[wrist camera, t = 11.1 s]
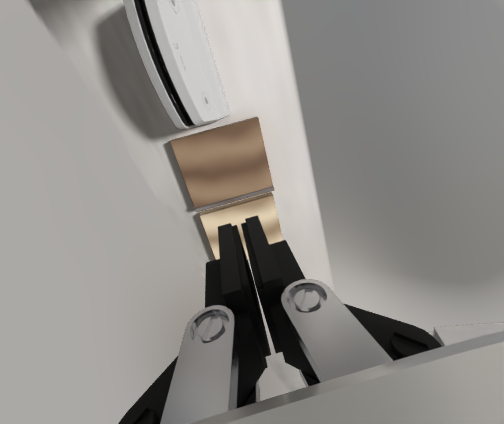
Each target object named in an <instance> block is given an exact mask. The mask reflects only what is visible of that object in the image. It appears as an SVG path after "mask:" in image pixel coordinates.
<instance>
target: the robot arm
mask: <svg viewBox="0 0 504 424" xmlns="http://www.w3.org/2000/svg"><path fill="white" fill-rule="evenodd" d="M245 221H246V222H245V223H241V227H242V231H243V235H244V239H245V243H246V248H247V252H248V256H249V260H250V264H251V269H252V273H253V276H252V273H251V270H250V267H249V263H248V260H247V257H246V253H245V250H244V247H243V243H242V240H241V237H240V233H239V230H238V227H237V225H234V226H232V225H231V223H229V224H225V225H222V226H218V240H219V256H220V259H217V260H213V261H210V262H207V263H206V286H205V287H206V288H205V290H206V291H205V309H203V310H201V311H199V312H198V313H197V314H195V315H194V316H193V317H192V318H191V320H190V321H189V322H188V324H187V327H186V329H185V332H184V336H183V340H182V344H181V347H180V351H179V355H178V356H177V357H176V359H175V360H174V361H173V362H172V363H171V364H170V365H169V366H168V367H167V369H166V370H165V371H164V372H163V373H162V374H161V375H160V376H159V377H158V378H157V380H156V381H155V382H154V383H153V384H152V385H151V386H150V387H149V388H148V390H147V391H146V392H145V393H144V394H143V395H142V396H141V397H140V398H139V399H138V401H137V402H136V403H135V404H134V405H133V406H132V407H131V408H130V409H129V410H128V412H127V413H126V414H125V416H124V417H123V418H122V419H121V421H120V422H119V424H504V322H497V323H484V324H470V325H457V326H444V327H434V332H426V331H425V330H423V329H420V328H418V327H416V326H413V325H410V324H407V323H404V322H401V321H397V320H394V319H391V318H388V317H385V316H381V315H378V314H375V313H372V312H368V311H365V310H362V309H359V308H356V307H353V306H349V305H346V304H343V303H342V302H341V301H340V299H339V298H338V297H337V296H336V295H335V294H334V293H333V291H332V290H331V289H330V288H329V287H328V286H327V285H325V284H324V283H323V282H320V281H318V280H313V279H305V277H304V275H303V273H302V271H301V269H300V267H299V265H298V263H297V261H296V259H295V257H294V255H293V253H292V252H291V250H290V248H289V246H288V244H287V242H286V240H283V241H280V242H276V243H273V244H269V243H268V240H267V238H266V235H265V233H264V230H263V227H262V225H261V222H260V220H259V217H258V215H257V216H253V217H250V218H246V219H245ZM253 277H254V280H253ZM254 281H255V284H254ZM255 285H256V288H257V292H258V295H259V299H260V302H261V305H262V309H263V312H264V315H265V319H266V322H267V325H268V328H269V332H270V335H271V338H272V342H273V345H274V348H275V352H276V353H279V352H283V356H284V359H285V362H286V363H288V364H290V365H292V366H293V367H295V368H297V369H299V372H300V375H301V378H302V380H303V382H304V384H305V386H306V388H302V389H299V390H296V391H293V392H289V393H286V394H283V395H280V396H276V397H273V398H270V399H266V400H263V401H260V387H259V381H258V379H259V378H260V376H261V374H262V373H263V371H264V370H265V368H267V362H266V358H265V357H266V356H269V355H271V352H270V348H269V344H268V339H267V335H266V331H265V326H264V322H263V318H262V314H261V309H260V305H259V301H258V297H257V292H256V288H255Z"/></svg>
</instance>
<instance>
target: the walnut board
mask: <svg viewBox="0 0 504 424" xmlns="http://www.w3.org/2000/svg"><path fill="white" fill-rule="evenodd" d="M170 143H171V145H172V148H173V151H174V153H175V156H176V159H177V161H178V164H179V167H180V170H181V172H182V175H183V178H184V180H185V183H186V186H187V188H188V191H189V194H190V196H191V199H192V202H193V204H194V207H195V211H196V212H199V211H203V210H206V209H210V208H213V207H217V206H220V205H224V204H228V203H231V202H235V201H238V200H242V199H245V198H249V197H253V196H256V195H260V194H263V193H267V192H270V191H274V187H273V184H272V179H271V174H270V170H269V165H268V161H267V156H266V151H265V147H264V142H263V138H262V133H261V128H260V124H259V119H258V117H254V118H251V119H247V120H243V121H240V122H236V123H232V124H229V125H225V126H221V127H217V128H214V129H210V130H206V131H203V132H199V133H195V134H192V135H188V136H184V137H181V138H177V139H173V140H171V141H170Z"/></svg>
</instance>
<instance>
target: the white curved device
mask: <svg viewBox="0 0 504 424" xmlns="http://www.w3.org/2000/svg"><path fill="white" fill-rule="evenodd" d="M123 2H124V6H125V10H126V13H127V17H128V21H129V24H130V27H131V30H132V33H133V36H134V39H135V42H136V45H137V48H138V50H139V53H140V56H141V58H142V61H143V63H144V66H145V68H146V71H147V73H148V75H149V78H150V80H151V82H152V84H153V86H154V88H155V90H156V92H157V94H158V96H159V98H160V100H161V102H162V104H163V106H164V108H165V110H166V111H167V113H168V115H169V116H170V118H171V120H172V121H173V123H174V125H175V126H176V127H177V128H178V129H188V128H193V127H197V126H202V125H206V124H209V123H213V122H216V121H218V120H220V119H222V118H224V117H226V116H228V115H229V114H231V112H230V109H229V105H228V102H227V99H226V96H225V92H224V89H223V86H222V82H221V79H220V76H219V73H218V69H217V66H216V63H215V59H214V56H213V53H212V50H211V46H210V43H209V40H208V36H207V33H206V30H205V27H204V23H203V20H202V17H201V13H200V10H199V7H198V4H197V0H123Z"/></svg>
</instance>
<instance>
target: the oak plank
mask: <svg viewBox="0 0 504 424" xmlns="http://www.w3.org/2000/svg"><path fill="white" fill-rule="evenodd" d="M257 215H258V217H259V220H260V222H261V225H262V227H263V230H264V233H265V235H266V238H267V240H268V243H269V244H273V243H276V242H280V241H283V238H282V233H281V229H280V224H279V220H278V215H277V211H276V206H275V201H274V197H273V194H272V193H271V192H270V193H267V194H263V195H260V196H256V197H252V198H249V199H245V200H242V201H238V202H235V203H231V204H228V205H224V206H220V207H217V208H213V209H210V210H206V211H203V212H200V218H201V221H202V223H203V226H204V229H205V232H206V234H207V237H208V240H209V242H210V245H211V248H212V251H213V253H214V256H215V259H216V260H217V259H220V256H219V240H218V226H222V225H225V224H229V223H231V225H232V226H234V225H237V227H238V230H239V233H240V237H241V240H242V243H243V247H244V250H245V253H246V257H247V260H249V256H248V252H247V248H246V243H245V239H244V235H243V231H242V227H241V223H245V222H246V221H245V219H246V218H250V217H253V216H257Z"/></svg>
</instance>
